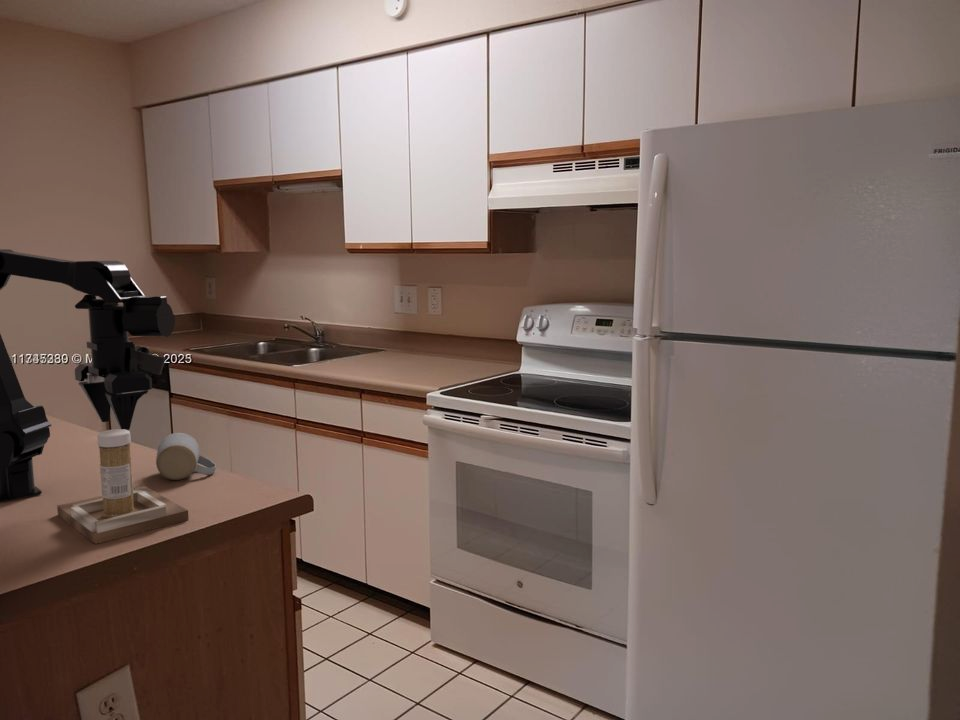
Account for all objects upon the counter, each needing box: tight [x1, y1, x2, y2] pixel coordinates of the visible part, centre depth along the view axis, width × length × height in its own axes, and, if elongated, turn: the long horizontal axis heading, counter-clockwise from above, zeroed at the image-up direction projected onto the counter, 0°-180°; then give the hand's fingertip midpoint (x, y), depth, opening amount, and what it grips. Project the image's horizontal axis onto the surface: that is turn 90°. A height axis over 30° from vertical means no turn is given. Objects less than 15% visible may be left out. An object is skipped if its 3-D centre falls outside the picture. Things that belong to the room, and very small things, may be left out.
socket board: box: [56, 485, 189, 545], centre depth 116 cm, size 17×14×3 cm
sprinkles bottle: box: [97, 428, 135, 518], centre depth 112 cm, size 5×5×13 cm
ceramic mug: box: [155, 432, 217, 481], centre depth 138 cm, size 11×8×8 cm
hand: (115, 426), depth 123 cm, fingers open, 9 cm apart
